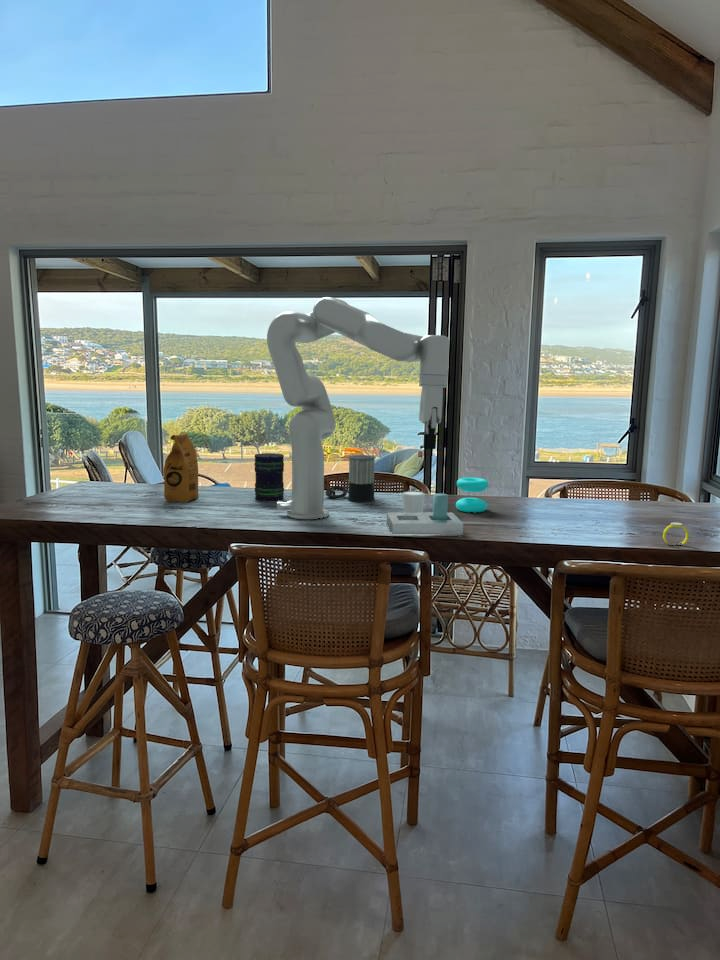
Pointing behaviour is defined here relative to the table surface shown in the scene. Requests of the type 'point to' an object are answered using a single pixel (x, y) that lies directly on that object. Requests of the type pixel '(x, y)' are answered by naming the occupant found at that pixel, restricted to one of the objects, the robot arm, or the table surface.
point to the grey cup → (413, 501)
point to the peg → (440, 506)
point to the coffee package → (181, 471)
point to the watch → (675, 524)
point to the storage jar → (269, 477)
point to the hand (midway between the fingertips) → (429, 448)
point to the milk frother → (358, 480)
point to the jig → (423, 523)
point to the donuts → (472, 486)
